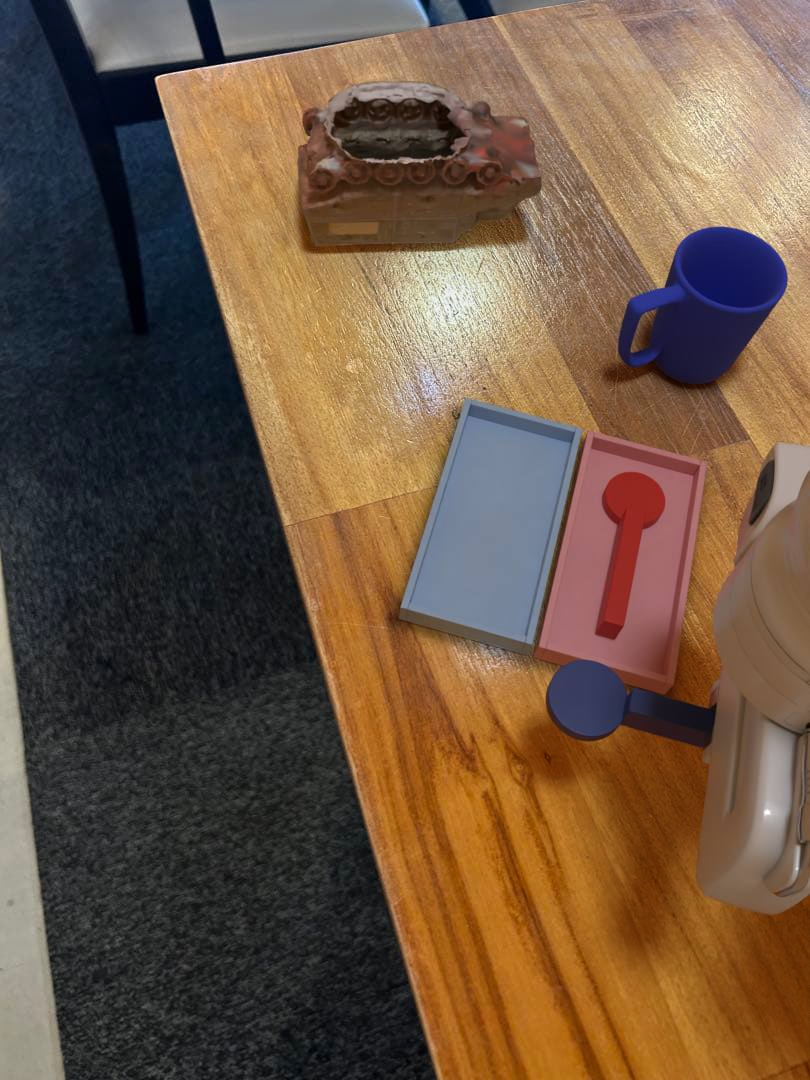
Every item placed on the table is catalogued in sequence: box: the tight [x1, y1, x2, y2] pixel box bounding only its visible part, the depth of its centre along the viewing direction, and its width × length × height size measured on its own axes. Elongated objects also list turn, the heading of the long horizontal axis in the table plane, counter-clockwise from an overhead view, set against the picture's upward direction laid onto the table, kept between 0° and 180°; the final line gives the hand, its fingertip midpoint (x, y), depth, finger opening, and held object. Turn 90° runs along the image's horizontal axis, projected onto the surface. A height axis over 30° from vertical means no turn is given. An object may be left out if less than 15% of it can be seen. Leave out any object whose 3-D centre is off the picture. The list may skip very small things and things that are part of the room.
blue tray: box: [398, 397, 583, 656], centre depth 68 cm, size 9×18×2 cm, turn 164°
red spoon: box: [595, 472, 665, 640], centre depth 66 cm, size 13×4×2 cm, turn 164°
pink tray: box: [533, 430, 708, 696], centre depth 67 cm, size 9×18×2 cm, turn 164°
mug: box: [617, 226, 789, 385], centre depth 72 cm, size 8×12×10 cm
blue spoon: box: [544, 660, 716, 749], centre depth 51 cm, size 13×4×2 cm, turn 74°
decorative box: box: [296, 79, 543, 248], centre depth 79 cm, size 13×20×10 cm, turn 89°
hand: (720, 728), depth 51 cm, fingers closed on blue spoon, 1 cm apart
